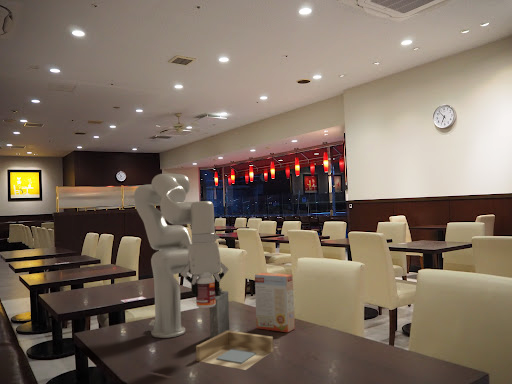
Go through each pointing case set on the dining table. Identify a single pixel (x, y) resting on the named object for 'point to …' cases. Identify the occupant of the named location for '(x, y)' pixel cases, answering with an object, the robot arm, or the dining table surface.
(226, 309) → the flask
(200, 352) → the wooden corner stand
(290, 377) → the dining table surface
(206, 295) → the pill bottle
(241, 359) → the slate pad
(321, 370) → the dining table surface
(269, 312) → the cracker box
